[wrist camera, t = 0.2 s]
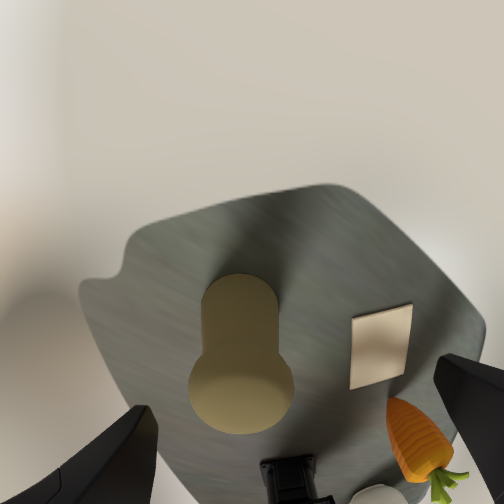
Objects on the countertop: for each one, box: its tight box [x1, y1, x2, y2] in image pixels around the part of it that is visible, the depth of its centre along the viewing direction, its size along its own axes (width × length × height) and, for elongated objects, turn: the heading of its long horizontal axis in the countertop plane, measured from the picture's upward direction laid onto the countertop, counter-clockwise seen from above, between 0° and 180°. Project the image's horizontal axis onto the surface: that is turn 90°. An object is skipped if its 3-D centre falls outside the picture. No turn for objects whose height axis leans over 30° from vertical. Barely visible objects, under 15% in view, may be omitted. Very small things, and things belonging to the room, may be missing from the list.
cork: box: [189, 273, 294, 434], centre depth 17 cm, size 6×6×11 cm
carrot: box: [386, 397, 469, 504], centre depth 18 cm, size 5×5×15 cm
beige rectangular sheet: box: [349, 304, 413, 390], centre depth 24 cm, size 8×6×1 cm
